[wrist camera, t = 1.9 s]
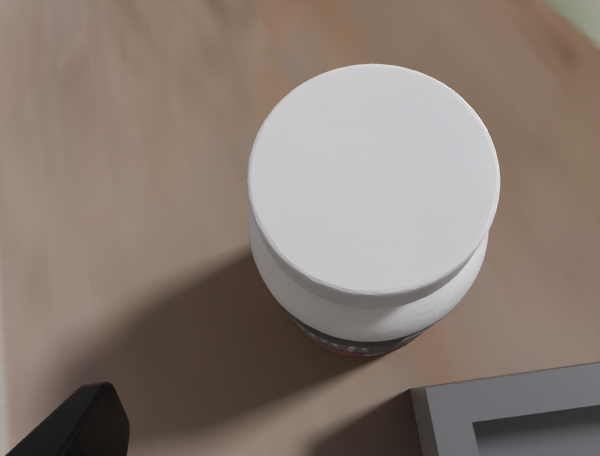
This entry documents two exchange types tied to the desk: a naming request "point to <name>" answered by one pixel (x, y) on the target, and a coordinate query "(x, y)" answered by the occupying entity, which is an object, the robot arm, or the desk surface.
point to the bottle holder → (512, 414)
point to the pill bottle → (370, 205)
